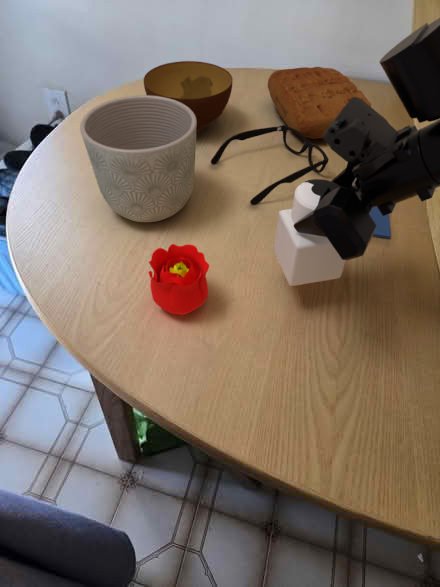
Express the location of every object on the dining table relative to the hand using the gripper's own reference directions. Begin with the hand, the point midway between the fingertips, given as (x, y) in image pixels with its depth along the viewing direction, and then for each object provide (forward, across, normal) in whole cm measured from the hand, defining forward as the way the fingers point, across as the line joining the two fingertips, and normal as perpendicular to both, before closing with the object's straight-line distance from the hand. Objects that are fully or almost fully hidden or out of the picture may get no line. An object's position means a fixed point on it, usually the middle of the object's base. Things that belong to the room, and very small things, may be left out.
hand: (305, 213), depth 52 cm
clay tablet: (+20, -48, -1) cm, 53 cm away
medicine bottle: (+5, 0, +7) cm, 8 cm away
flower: (+18, +10, +1) cm, 21 cm away
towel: (+8, -22, +11) cm, 26 cm away
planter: (+30, -5, -11) cm, 32 cm away
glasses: (+20, -25, -1) cm, 32 cm away
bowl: (+36, -32, -17) cm, 51 cm away
